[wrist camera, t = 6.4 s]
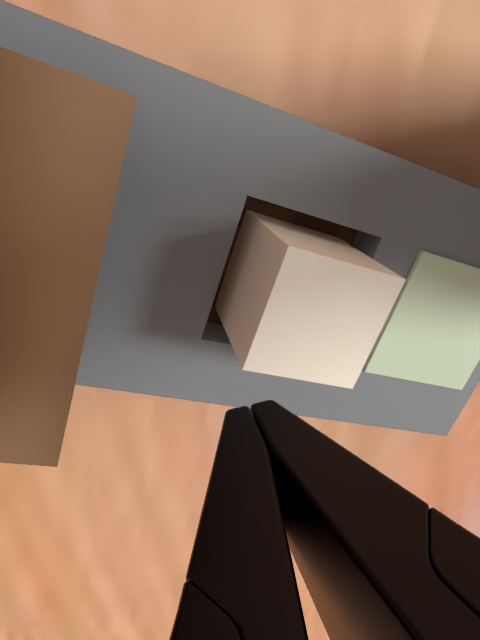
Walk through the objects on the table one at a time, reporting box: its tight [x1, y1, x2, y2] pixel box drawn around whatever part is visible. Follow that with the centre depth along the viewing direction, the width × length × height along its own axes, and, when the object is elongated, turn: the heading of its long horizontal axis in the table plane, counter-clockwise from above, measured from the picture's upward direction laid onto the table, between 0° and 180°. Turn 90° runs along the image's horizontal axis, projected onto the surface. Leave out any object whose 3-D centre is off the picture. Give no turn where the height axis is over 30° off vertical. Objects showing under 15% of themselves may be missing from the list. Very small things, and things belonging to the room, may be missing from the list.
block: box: [215, 210, 406, 389], centre depth 17 cm, size 4×4×6 cm
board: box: [0, 0, 480, 436], centre depth 19 cm, size 24×12×2 cm, turn 72°
